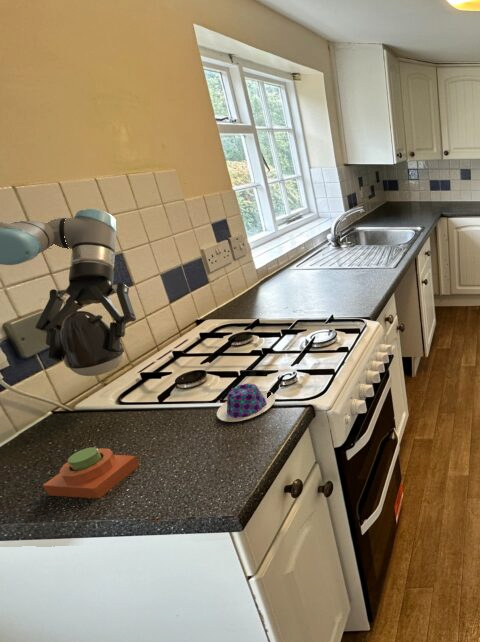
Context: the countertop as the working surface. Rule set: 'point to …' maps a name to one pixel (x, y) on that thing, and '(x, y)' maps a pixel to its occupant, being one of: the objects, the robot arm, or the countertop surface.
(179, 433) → the countertop surface
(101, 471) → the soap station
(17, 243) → the robot arm
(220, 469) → the countertop surface
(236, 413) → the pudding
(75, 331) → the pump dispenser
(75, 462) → the button
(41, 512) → the countertop surface
